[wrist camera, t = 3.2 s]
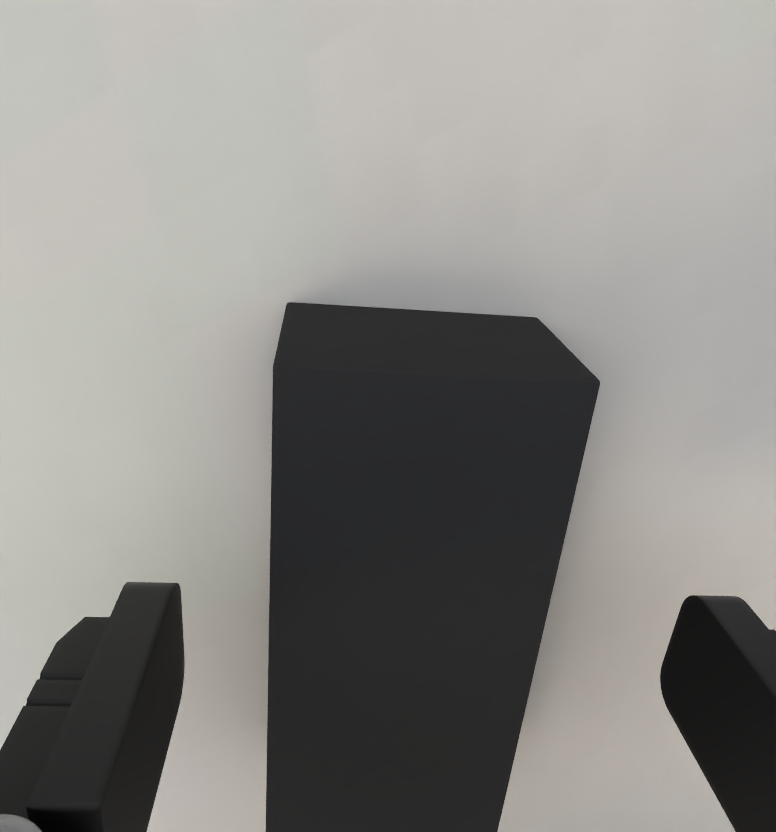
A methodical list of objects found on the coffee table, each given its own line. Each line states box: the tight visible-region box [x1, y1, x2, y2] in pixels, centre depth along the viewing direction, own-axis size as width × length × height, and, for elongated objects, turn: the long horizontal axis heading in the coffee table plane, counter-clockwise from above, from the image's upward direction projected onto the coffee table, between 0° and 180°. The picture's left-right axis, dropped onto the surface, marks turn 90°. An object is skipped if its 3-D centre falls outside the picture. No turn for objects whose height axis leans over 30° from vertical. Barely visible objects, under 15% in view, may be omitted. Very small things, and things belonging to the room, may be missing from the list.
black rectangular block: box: [266, 302, 600, 832], centre depth 14 cm, size 12×5×4 cm, turn 175°
